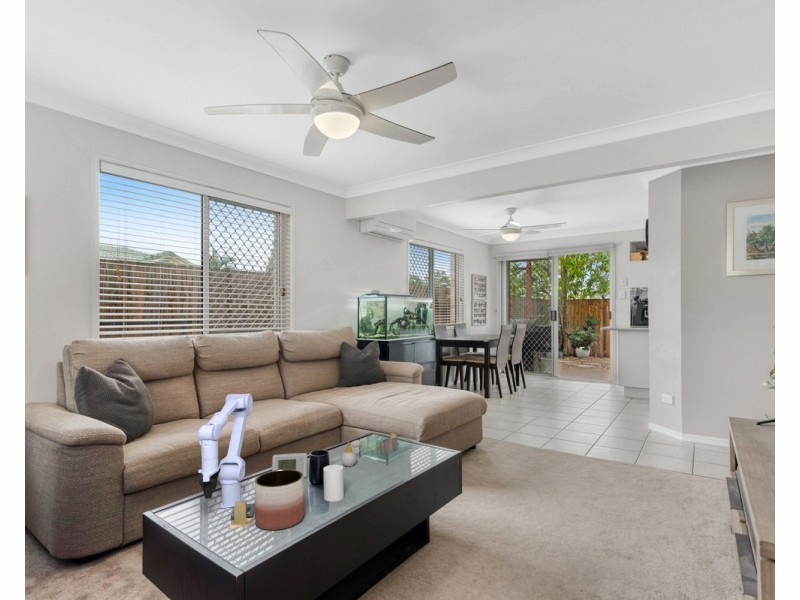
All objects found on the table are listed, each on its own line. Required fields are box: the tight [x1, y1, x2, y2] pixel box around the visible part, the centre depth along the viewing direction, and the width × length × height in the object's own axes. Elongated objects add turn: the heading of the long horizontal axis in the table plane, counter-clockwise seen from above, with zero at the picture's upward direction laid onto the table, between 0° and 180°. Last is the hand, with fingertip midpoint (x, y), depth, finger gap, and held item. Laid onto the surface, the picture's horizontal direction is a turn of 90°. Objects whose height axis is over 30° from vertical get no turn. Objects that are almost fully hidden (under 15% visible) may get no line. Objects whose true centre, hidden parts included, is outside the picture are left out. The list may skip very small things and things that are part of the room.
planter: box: [254, 469, 306, 531], centre depth 164 cm, size 18×18×16 cm
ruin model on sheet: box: [379, 432, 399, 457], centre depth 238 cm, size 11×3×10 cm, turn 141°
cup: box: [323, 464, 345, 502], centre depth 182 cm, size 8×8×12 cm
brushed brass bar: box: [233, 499, 248, 526], centre depth 162 cm, size 4×4×7 cm
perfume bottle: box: [341, 439, 362, 468], centre depth 220 cm, size 8×10×12 cm
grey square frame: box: [230, 502, 255, 522], centre depth 169 cm, size 9×8×2 cm
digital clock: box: [271, 452, 308, 479], centre depth 206 cm, size 16×9×11 cm, turn 85°
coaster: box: [229, 518, 252, 529], centre depth 161 cm, size 5×7×1 cm
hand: (210, 494), depth 164 cm, fingers open, 7 cm apart
